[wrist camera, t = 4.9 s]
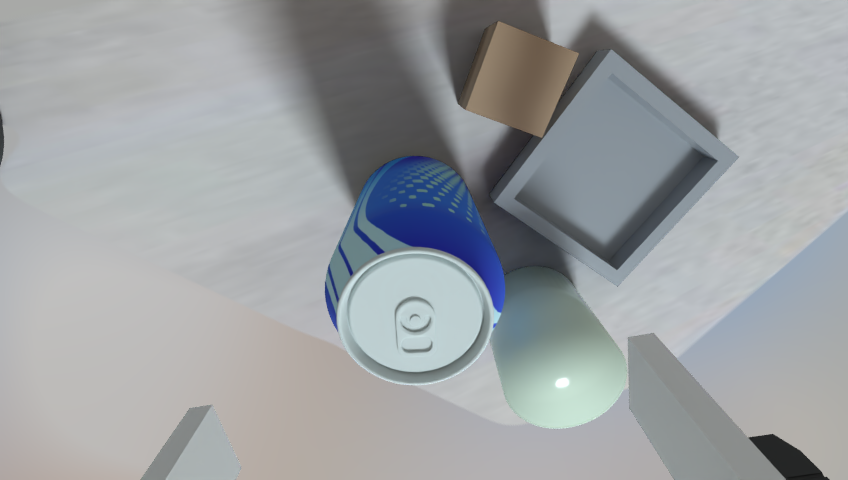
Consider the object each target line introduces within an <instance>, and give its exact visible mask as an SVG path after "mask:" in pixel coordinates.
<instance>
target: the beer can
mask: <svg viewBox="0 0 848 480" xmlns="http://www.w3.org/2000/svg"><path fill="white" fill-rule="evenodd" d="M325 298H326V304H327V308H328V311H329V315H330V317H331V320H332V322H333V324H334V326H335V328H336V329H337V331H338V333H339V336H340V339H341V341H342V343H343V345H344V347H345V349H346V351H347V352H348V353H349V355H350V356H351V357H352V358H353V360H354V361H355V362H356V363H357V364H359V365H360V366H361V367H362V368H363V369H365V370H366V371H368V372H369V373H371V374H373V375H375V376H377V377H379V378H381V379H384V380H386V381H389V382H393V383H398V384H405V385H426V384H432V383H436V382H440V381H443V380H446V379H449V378H451V377H453V376H455V375H457V374H459V373H461V372H462V371H464V370H465V369H467V368H468V367H469V366H470V365H471V364H472V363H474V362H475V361H476V360H477V358H478V357H479V356H480V355H481V353H482V352H483V351H484V349H485V347H486V346H487V344H488V341H489V339H490V337H491V333H492V331H493V329H494V328H495V326H496V324H497V322H498V320H499V317H500V315H501V312H502V309H503V305H504V300H505V279H504V273H503V269H502V265H501V263H500V260H499V257H498V255H497V253H496V251H495V248H494V246H493V244H492V242H491V239H490V237H489V235H488V233H487V230H486V228H485V226H484V224H483V221H482V219H481V217H480V215H479V212H478V210H477V208H476V206H475V203H474V201H473V199H472V197H471V194H470V192H469V190H468V188H467V186H466V184H465V183H464V181H463V180H462V178H461V177H460V176H459V175H458V174H457V173H456V172H455V171H454V170H453V169H452V168H451V167H449V166H448V165H446V164H444V163H442V162H440V161H438V160H436V159H432V158H429V157H423V156H407V157H402V158H398V159H395V160H392V161H390V162H388V163H386V164H384V165H383V166H381V167H380V168H379V169H378V170H376V171H375V172H374V173H373V174H372V175H371V176H370V178H369V179H368V180H367V182H366V183H365V185H364V187H363V189H362V191H361V193H360V196H359V198H358V200H357V202H356V205H355V207H354V209H353V211H352V214H351V216H350V218H349V220H348V222H347V225H346V227H345V229H344V231H343V234H342V236H341V238H340V240H339V243H338V245H337V247H336V249H335V252H334V254H333V256H332V258H331V261H330V264H329V266H328V270H327V274H326V281H325Z"/></svg>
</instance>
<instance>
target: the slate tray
mask: <svg viewBox="0 0 848 480" xmlns="http://www.w3.org/2000/svg"><path fill="white" fill-rule="evenodd" d="M738 158H739V156H737V155H736V154H735V153H734V152H733V151H731V150H730V149H729V148H728V147H727V146H725V145H724V144H723V143H722V142H721V141H720V140H718V139H717V138H716V137H715V136H714V135H712V134H711V133H710V132H709V131H708V130H707V129H705V128H704V127H703V126H702V125H701V124H699V123H698V122H697V121H696V120H695V119H693V118H692V117H691V116H690V115H689V114H688V113H686V112H685V111H684V110H683V109H682V108H680V107H679V106H678V105H677V104H676V103H675V102H673V101H672V100H671V99H670V98H669V97H667V96H666V95H665V94H664V93H663V92H662V91H660V90H659V89H658V88H657V87H656V86H654V85H653V84H652V83H651V82H650V81H648V80H647V79H646V78H645V77H644V76H643V75H641V74H640V73H639V72H638V71H637V70H635V69H634V68H633V67H632V66H631V65H630V64H628V63H627V62H626V61H625V60H624V59H622V58H621V57H620V56H619V55H618V54H616V53H615V52H614V51H613V50H612V49H609V50H600V51H597V52H596V53H595V55H594V56H593V57H592V59H591V60H590V61H589V63H588V64H587V65H586V67H585V68H584V69H583V71H582V72H581V73H580V75H579V76H578V77H577V79H576V80H575V81H574V83H573V84H572V85H571V87H570V88H569V89H568V91H567V92H566V93H565V94H564V96H563V97H562V98H561V100H560V101H559V102H558V104H557V105H556V107H555V110H554V112H553V114H552V116H551V119H550V121H549V123H548V126H547V128H546V130H545V132H544V135H543V137H542V138H541V137H538V136H535V135H533V137H532V138H531V139H530V141H529V142H528V143H527V145H526V146H525V147H524V149H523V150H522V151H521V153H520V154H519V155H518V157H517V158H516V159H515V161H514V162H513V163H512V165H511V166H510V167H509V169H508V170H507V171H506V173H505V174H504V175H503V177H502V178H501V179H500V180H499V182H498V183H497V184H496V186H495V187H494V188H493V190H492V191H491V192H490V194H489V195H490V197H491V198H492V200H493V202H494V203H496V204H497V205H498V206H500V207H501V208H503V209H504V210H506V211H507V212H509V213H510V214H512V215H513V216H515V217H516V218H518V219H519V220H520V221H522V222H523V223H525V224H526V225H528V226H529V227H531V228H532V229H534V230H535V231H537V232H538V233H540V234H541V235H542V236H544V237H545V238H547V239H548V240H550V241H551V242H553V243H554V244H556V245H557V246H559V247H560V248H562V249H563V250H565V251H566V252H567V253H569V254H570V255H572V256H573V257H575V258H576V259H578V260H579V261H581V262H582V263H584V264H585V265H587V266H588V267H589V268H591V269H592V270H594V271H595V272H597V273H598V274H600V275H601V276H603V277H604V278H606V279H607V280H609V281H610V282H612V283H613V284H614V285H616V286H617V287H618V286H619V285H620V284H621V282H622V281H623V280H624V279H625V278H626V277H627V276H628V275H629V274H630V273H631V272H632V271H633V270H634V269H635V268H636V266H637V265H638V264H639V263H640V262H641V261H642V260H643V259H644V258H645V257H646V256H647V255H648V254H649V253H650V252H651V250H652V249H653V248H654V247H655V246H656V245H657V244H658V243H659V242H660V241H661V240H662V239H663V238H664V237H665V236H666V234H667V233H668V232H669V231H670V230H671V229H672V228H673V227H674V226H675V225H676V224H677V223H678V222H679V221H680V220H681V218H682V217H683V216H684V215H685V214H686V213H687V212H688V211H689V210H690V209H691V208H692V207H693V206H694V205H695V204H696V202H697V201H698V200H699V199H700V198H701V197H702V196H703V195H704V194H705V193H706V192H707V191H708V190H709V189H710V188H711V186H712V185H713V184H714V183H715V182H716V181H717V180H718V179H719V178H720V177H721V176H722V175H723V174H724V173H725V172H726V171H727V169H728V168H729V167H730V166H731V165H732V164H733V163H734V162H735V161H736V160H737V159H738Z"/></svg>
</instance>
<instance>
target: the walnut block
mask: <svg viewBox="0 0 848 480" xmlns="http://www.w3.org/2000/svg"><path fill="white" fill-rule="evenodd" d="M578 55H579V53H577V52H574V51H572V50H569V49H567V48H564V47H562V46H559V45H557V44H554V43H552V42H550V41H547V40H545V39H542V38H540V37H537V36H535V35H532V34H530V33H527V32H525V31H522V30H520V29H517V28H515V27H512V26H510V25H507V24H505V23H502V22H500V21H497V22H496V23H494V24H492V25H491V26H489V27H487V28H486V29H485V30H484V33H483V36H482V38H481V41H480V44H479V47H478V50H477V52H476V55H475V58H474V61H473V63H472V66H471V69H470V72H469V74H468V77H467V80H466V83H465V86H464V88H463V91H462V94H461V97H460V99H459V102H458V104H459V105H460V106H461V107H463V108H464V109H465V110H467V111H470V112H473V113H476V114H478V115H481V116H484V117H486V118H489V119H492V120H495V121H497V122H500V123H503V124H505V125H508V126H511V127H514V128H516V129H519V130H522V131H524V132H527V133H530V134H533V135H535V136H538V137H541V138H542V137H543V135H544V132H545V130H546V128H547V126H548V123H549V121H550V119H551V116H552V114H553V112H554V110H555V107H556V105H557V103H558V101H559V98H560V96H561V94H562V91H563V89H564V87H565V85H566V82H567V80H568V78H569V76H570V73H571V71H572V69H573V66H574V64H575V62H576V60H577V57H578Z"/></svg>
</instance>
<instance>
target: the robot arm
mask: <svg viewBox="0 0 848 480" xmlns="http://www.w3.org/2000/svg"><path fill="white" fill-rule="evenodd" d="M3 148H4V135H3V126H2V120H1V116H0V165H1V161H2V156H3ZM628 367H629V409H630V410H631V412H632V413H633V415H634V417H635V418H636V420H637V421H638V423H639V424H640V426H641V428H642V429H643V431H644V432H645V434H646V436H647V437H648V439H649V440H650V442H651V443H652V445H653V447H654V448H655V450H656V451H657V453H658V455H659V456H660V458H661V460H662V461H663V463H664V464H665V466H666V467H667V469H668V471H669V472H670V474H671V476H672V477H673V479H674V480H829V479H828V478H827V477H824V476H823V474H822V472H821V471H820V470H819V469H818V468H817V467H816V466H815V465H814V464H813V463H812V462H811V461H810V460H809V459H808V458H807V457H806V456H805V455H804V454H803V453H802V452H801V451H800V450H798V449H797V448H795V447H793V446H792V445H790V444H788V443H787V442H785V441H783V440H782V439H780V438H778V437H777V436H775V435H773V434H770V435H764V436H756V437H749V438H748V437H747V436H746V435H745V434H744V433H743V431H742V430H741V429H740V428H739V427H738V426H737V425H736V424H735V423H734V422H733V420H732V419H731V418H730V417H729V416H728V415H727V414H726V413H725V412H724V411H723V410H722V408H721V407H720V406H719V405H718V404H717V403H716V402H715V401H714V399H713V398H712V397H711V396H710V395H709V394H708V393H707V392H706V391H705V389H703V387H702V386H701V385H700V384H699V383H698V382H697V381H696V380H695V378H694V377H693V376H692V375H691V374H690V373H689V372H688V371H687V370H686V368H685V367H684V366H683V365H682V364H681V363H680V362H679V361H678V360H677V358H676V357H675V356H674V355H673V354H672V353H671V352H670V351H669V350H668V348H667V347H666V346H665V345H664V344H663V343H662V342H661V341H660V340H659V339H658V337H657V336H656V335H655V334H654V333H651V334H645V335H639V336H633V337H628ZM240 470H241V466H240V463H239V461H238V459H237V457H236V455H235V453H234V450H233V448H232V446H231V444H230V442H229V440H228V437H227V435H226V433H225V431H224V429H223V427H222V424H221V422H220V420H219V418H218V416H217V414H216V411H215V409H214V407H213V405H207V406H201V407H195V408H189V410H188V411H187V413H186V414H185V416H184V417H183V419H182V420H181V422H180V423H179V425H178V426H177V428H176V429H175V430H174V432H173V433H172V435H171V436H170V438H169V439H168V440H167V442H166V443H165V445H164V446H163V448H162V449H161V451H160V452H159V454H158V455H157V456H156V458H155V459H154V461H153V462H152V464H151V465H150V467H149V468H148V470H147V471H146V472H145V474H144V475H143V477H142V478H141V480H236V478H237V476H238V474H239V472H240Z"/></svg>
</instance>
